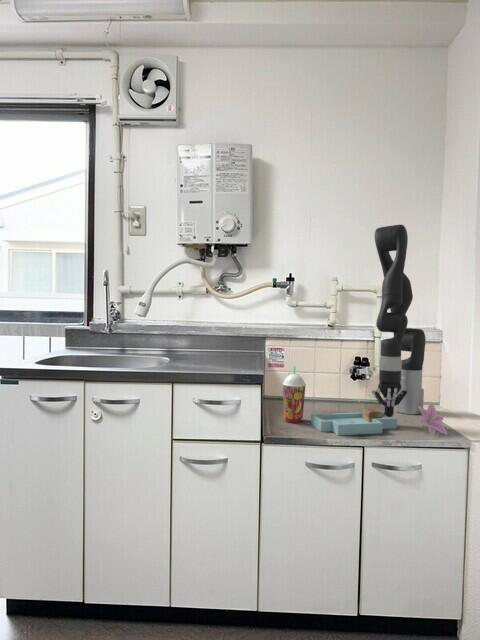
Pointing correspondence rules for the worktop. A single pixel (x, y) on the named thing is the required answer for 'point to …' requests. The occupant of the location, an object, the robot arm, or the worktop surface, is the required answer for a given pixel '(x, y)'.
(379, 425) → the box
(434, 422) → the lily
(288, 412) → the smoothie
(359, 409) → the worktop surface
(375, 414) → the walnut block
